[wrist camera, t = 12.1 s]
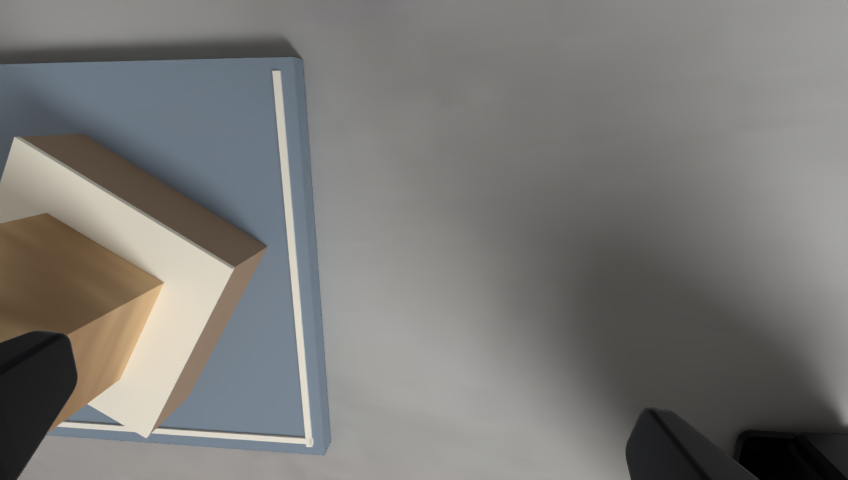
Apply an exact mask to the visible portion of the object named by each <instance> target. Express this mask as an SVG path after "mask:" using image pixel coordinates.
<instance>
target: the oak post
mask: <svg viewBox="0 0 848 480" xmlns="http://www.w3.org/2000/svg"><path fill="white" fill-rule="evenodd" d="M163 284H164V282H162V281H160V280H158V279H157V278H155V277H153V276H152V275H150V274H148V273H147V272H145V271H143V270H142V269H140V268H138V267H137V266H135V265H133V264H132V263H130V262H128V261H127V260H125V259H123V258H122V257H120V256H118V255H117V254H115V253H113V252H112V251H110V250H108V249H106V248H105V247H103V246H101V245H100V244H98V243H96V242H95V241H93V240H91V239H90V238H88V237H86V236H85V235H83V234H81V233H80V232H78V231H76V230H75V229H73V228H71V227H70V226H68V225H66V224H65V223H63V222H61V221H60V220H58V219H56V218H54V217H53V216H51V215H49V214H48V213H44V214H39V215H35V216H31V217H26V218H22V219H18V220H13V221H9V222H5V223H0V343H1V342H3V341H6V340H9V339H12V338H14V337H17V336H20V335H23V334H25V333H28V332H31V331H35V330H44V331H52V332H60V333H64V334H66V335H67V336H68V337H69V338H70V340H71V344H72V349H73V353H74V358H75V363H76V368H77V373H78V380H77V385H76V387H75V390H74V392H73V393H72V395H71V397H70V398H69V400H68V401H67V403H66V404H65V406H64V407H63V409H62V411H61V412H60V414H59V415H58V417H57V418H56V420H55V421H54V423H53V425H52V426H51V428H50V429H49V431H48V432H50V431H51V430H52V429H54V428H55V427H56V426H58V425H59V424H61V423H62V422H63V421H65V420H66V419H67V418H69V417H70V416H71V415H73V414H74V413H75V412H77V411H78V410H79V409H81V408H82V407H83V406H85V405H86V404H88V403H89V402H90V401H92V400H93V399H94V398H96V397H97V396H98V395H100V394H101V393H102V392H104V391H105V390H106V389H108V388H109V387H110V386H112V385H113V384H115V383H116V382H117V381H119V380H120V378H121V376H122V374H123V372H124V370H125V368H126V365H127V363H128V361H129V359H130V357H131V354H132V352H133V350H134V348H135V346H136V343H137V341H138V339H139V337H140V335H141V332H142V330H143V328H144V326H145V324H146V321H147V319H148V317H149V315H150V313H151V311H152V308H153V306H154V304H155V302H156V300H157V297H158V295H159V293H160V291H161V289H162V286H163ZM48 432H47V433H48Z"/></svg>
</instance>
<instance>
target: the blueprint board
mask: <svg viewBox="0 0 848 480" xmlns="http://www.w3.org/2000/svg"><path fill="white" fill-rule="evenodd" d="M44 213H48V214H49V215H51V216H53V217H54V218H56V219H58V220H60V221H61V222H63V223H65V224H66V225H68V226H70V227H71V228H73V229H75V230H76V231H78V232H80V233H81V234H83V235H85V236H86V237H88V238H90V239H91V240H93V241H95V242H96V243H98V244H100V245H101V246H103V247H105V248H106V249H108V250H110V251H112V252H113V253H115V254H117V255H118V256H120V257H122V258H123V259H125V260H127V261H128V262H130V263H132V264H133V265H135V266H137V267H138V268H140V269H142V270H143V271H145V272H147V273H148V274H150V275H152V276H153V277H155V278H157V279H158V280H160V281H162V282H164V284H163V286H162V289H161V291H160V293H159V295H158V297H157V300H156V302H155V304H154V306H153V308H152V311H151V313H150V315H149V317H148V319H147V321H146V324H145V326H144V328H143V330H142V332H141V335H140V337H139V339H138V341H137V343H136V346H135V348H134V350H133V352H132V354H131V357H130V359H129V361H128V363H127V365H126V368H125V370H124V372H123V374H122V376H121V378H120V380H119V381H117V382H116V383H115V384H113V385H112V386H110V387H109V388H108V389H106V390H105V391H104V392H102V393H101V394H100V395H98V396H97V397H96V398H94V399H93V400H92V401H90V402H89V403H88V404H86V405H85V406H83V407H82V408H81V409H79V410H78V411H77V412H75V413H74V414H73V415H71V416H70V417H69V418H67V419H66V420H65V421H63V422H62V423H61V424H59V425H58V426H56V427H55V428H54V429H52V430H51V431H50V432H48V433H47V434H46V435H51V436H65V437H79V438H92V439H106V440H120V441H134V442H147V443H161V444H175V445H188V446H202V447H216V448H230V449H243V450H257V451H271V452H285V453H298V454H312V455H325V454H326V451H327V449H328V447H329V445H330V442H331V435H330V422H329V408H328V395H327V381H326V367H325V354H324V340H323V327H322V313H321V299H320V286H319V272H318V259H317V245H316V231H315V218H314V204H313V191H312V177H311V163H310V150H309V136H308V123H307V109H306V96H305V82H304V68H303V60H302V59H299V58H296V57H265V58H226V59H187V60H148V61H109V62H70V63H31V64H0V223H5V222H9V221H13V220H18V219H22V218H26V217H31V216H35V215H39V214H44Z"/></svg>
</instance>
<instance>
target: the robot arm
mask: <svg viewBox="0 0 848 480" xmlns="http://www.w3.org/2000/svg"><path fill="white" fill-rule="evenodd" d="M77 380H78V373H77V368H76V363H75V358H74V353H73V349H72V344H71V340H70V338H69V337H68V336H67V335H66V334H64V333H60V332H52V331H44V330H35V331H31V332H28V333H25V334H23V335H20V336H17V337H14V338H12V339H9V340H6V341H3V342H1V343H0V480H17V478H18V477H19V476H20V474H21V473H22V471H23V470H24V468H25V467H26V465H27V463H28V462H29V460H30V459H31V457H32V456H33V454H34V453H35V451H36V449H37V448H38V446H39V445H40V443H41V442H42V440H43V439H44V437H45V435H46V434H47V432H48V431H49V429H50V428H51V426H52V425H53V423H54V421H55V420H56V418H57V417H58V415H59V414H60V412H61V411H62V409H63V407H64V406H65V404H66V403H67V401H68V400H69V398H70V397H71V395H72V393H73V392H74V390H75V387H76V385H77ZM753 441H755V443H753V444H752V445H749V443H751V442H753ZM626 460H627V465H628V469H629V473H630V477H631V480H848V435H836V434H819V433H787V432H771V431H754V430H750V431H745V432H743V433H741V434H740V435H739V437H738V439H737V444H736V449H735V454H734V459H732V458H731V457H730V456H729V455H727V454H726V453H725V452H724V451H722V450H721V449H720V448H719V447H717V446H716V445H715V444H713V443H712V442H711V441H710V440H708V439H707V438H706V437H705V436H703V435H702V434H701V433H700V432H698V431H697V430H696V429H695V428H693V427H692V426H691V425H689V424H688V423H687V422H686V421H684V420H683V419H682V418H681V417H679V416H678V415H677V414H675V413H674V412H672V411H670V410H664V409H657V408H645V409H644V410H643V411H642V412H641V413H640V415H639V417H638V420H637V422H636V424H635V426H634V428H633V430H632V433H631V435H630V437H629V439H628V441H627V445H626Z"/></svg>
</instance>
